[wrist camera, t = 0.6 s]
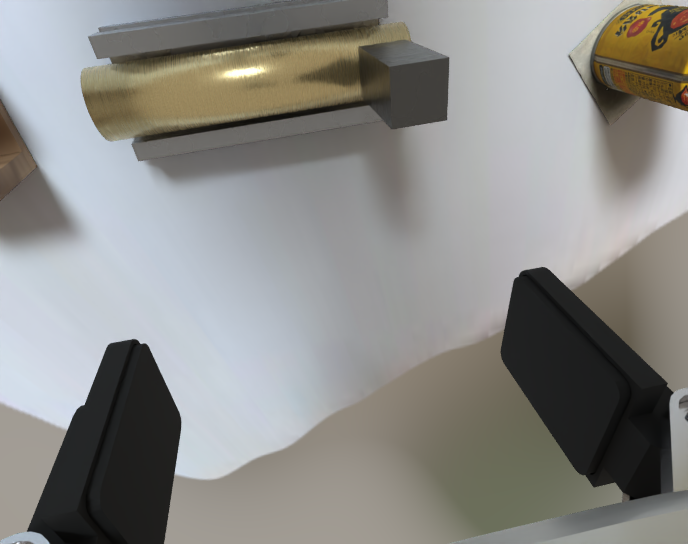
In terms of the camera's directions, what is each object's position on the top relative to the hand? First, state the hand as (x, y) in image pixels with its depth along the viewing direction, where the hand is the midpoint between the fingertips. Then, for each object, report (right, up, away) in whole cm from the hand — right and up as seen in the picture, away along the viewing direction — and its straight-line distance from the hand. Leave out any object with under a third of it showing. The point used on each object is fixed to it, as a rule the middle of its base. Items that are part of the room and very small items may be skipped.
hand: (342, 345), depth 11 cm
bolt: (-6, +16, +20) cm, 26 cm away
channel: (-6, +16, +20) cm, 26 cm away
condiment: (+23, +20, +24) cm, 39 cm away
